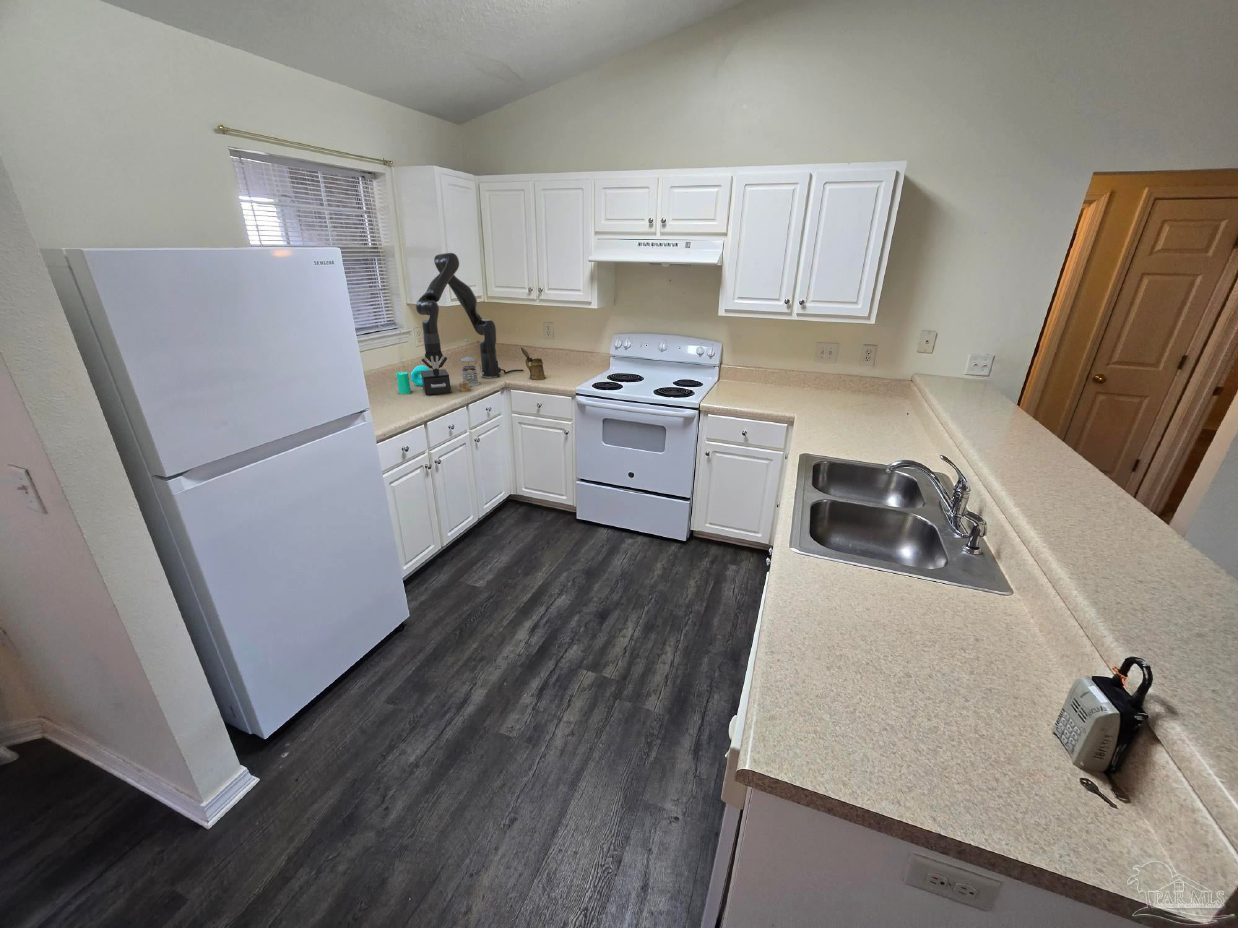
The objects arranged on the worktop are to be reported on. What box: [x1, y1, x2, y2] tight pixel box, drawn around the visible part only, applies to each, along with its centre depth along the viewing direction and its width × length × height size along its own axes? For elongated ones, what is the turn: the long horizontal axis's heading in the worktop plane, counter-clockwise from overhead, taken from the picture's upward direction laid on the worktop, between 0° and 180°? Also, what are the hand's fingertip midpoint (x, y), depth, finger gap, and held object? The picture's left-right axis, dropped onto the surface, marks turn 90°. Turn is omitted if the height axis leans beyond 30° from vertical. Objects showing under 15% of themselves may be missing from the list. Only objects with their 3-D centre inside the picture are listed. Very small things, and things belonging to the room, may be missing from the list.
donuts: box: [410, 364, 431, 387], centre depth 286 cm, size 10×10×10 cm
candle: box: [395, 369, 412, 395], centre depth 269 cm, size 6×6×12 cm
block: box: [459, 380, 471, 393], centre depth 276 cm, size 4×4×4 cm
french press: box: [460, 338, 482, 387], centre depth 285 cm, size 10×12×25 cm
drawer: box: [425, 377, 451, 395], centre depth 269 cm, size 18×12×8 cm, turn 24°
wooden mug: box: [520, 347, 546, 381], centre depth 300 cm, size 9×14×18 cm, turn 84°
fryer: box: [420, 368, 452, 396], centre depth 273 cm, size 15×13×10 cm
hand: (436, 376), depth 262 cm, fingers closed
